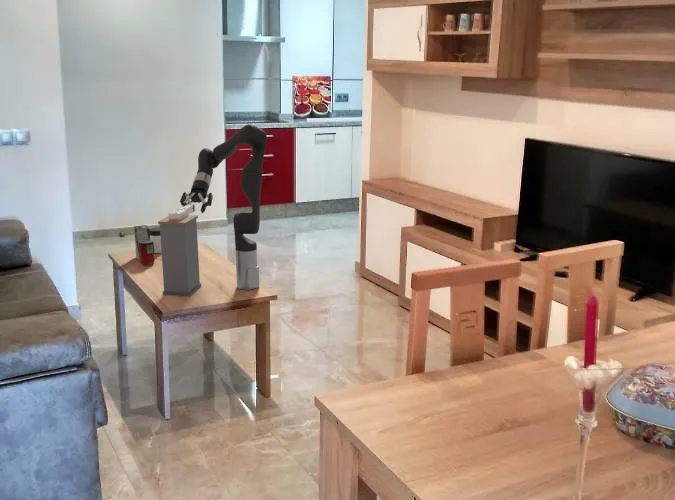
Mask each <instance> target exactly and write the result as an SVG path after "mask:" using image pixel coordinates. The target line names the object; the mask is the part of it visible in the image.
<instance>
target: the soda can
mask: <svg viewBox="0 0 675 500" xmlns="http://www.w3.org/2000/svg"><path fill="white" fill-rule="evenodd" d="M139 254H140V261H139V262H140V264H141V266H144V267H149V266H153V265H154V263H155V262H156V258H155V257H156V256H155V254H154V242H153V240H151V239H142V240H140V241H139Z"/></svg>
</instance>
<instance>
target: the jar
mask: <svg viewBox="0 0 675 500" xmlns="http://www.w3.org/2000/svg"><path fill="white" fill-rule="evenodd" d="M149 229H150V239H151V240H153V242H154V253H162V251H161V236H160V226H159V227H151V228H149Z"/></svg>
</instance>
